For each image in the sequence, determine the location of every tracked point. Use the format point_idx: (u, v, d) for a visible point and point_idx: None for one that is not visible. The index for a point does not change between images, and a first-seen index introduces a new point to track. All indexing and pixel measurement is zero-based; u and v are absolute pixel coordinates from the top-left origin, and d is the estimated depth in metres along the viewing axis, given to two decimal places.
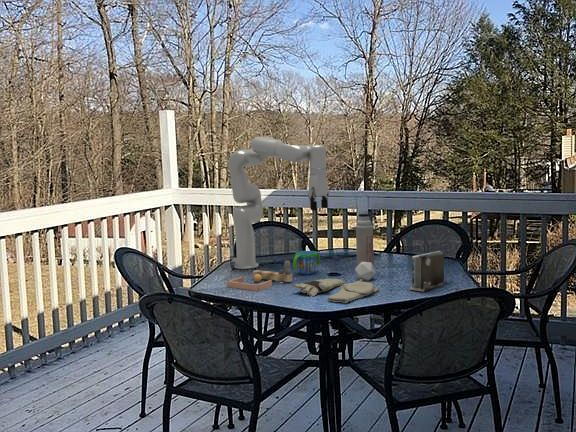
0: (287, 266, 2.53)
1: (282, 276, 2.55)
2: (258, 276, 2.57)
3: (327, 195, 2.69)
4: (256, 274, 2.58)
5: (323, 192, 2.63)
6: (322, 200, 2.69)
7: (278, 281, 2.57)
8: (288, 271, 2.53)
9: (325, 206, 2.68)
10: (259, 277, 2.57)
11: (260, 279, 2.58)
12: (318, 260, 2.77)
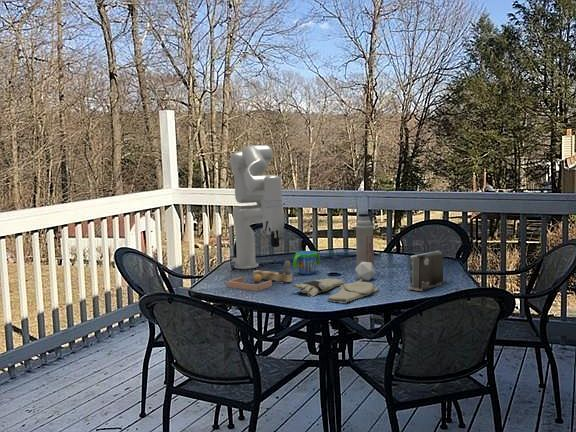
0: (287, 266, 2.53)
1: (282, 276, 2.55)
2: (258, 276, 2.57)
3: None
4: (256, 274, 2.58)
5: (279, 226, 2.45)
6: None
7: (278, 281, 2.57)
8: (288, 271, 2.53)
9: None
10: (259, 277, 2.57)
11: (260, 279, 2.58)
12: (318, 260, 2.77)
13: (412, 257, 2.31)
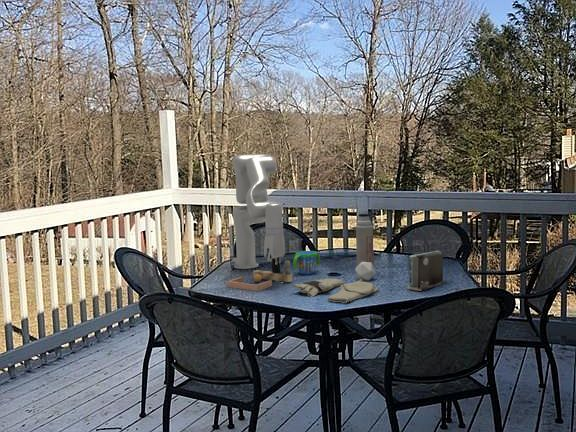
0: (287, 266, 2.53)
1: (282, 276, 2.55)
2: (258, 276, 2.57)
3: None
4: (256, 274, 2.58)
5: (280, 253, 2.46)
6: None
7: (278, 281, 2.57)
8: (288, 271, 2.53)
9: None
10: (259, 277, 2.57)
11: (260, 279, 2.58)
12: (318, 260, 2.77)
13: (411, 257, 2.32)
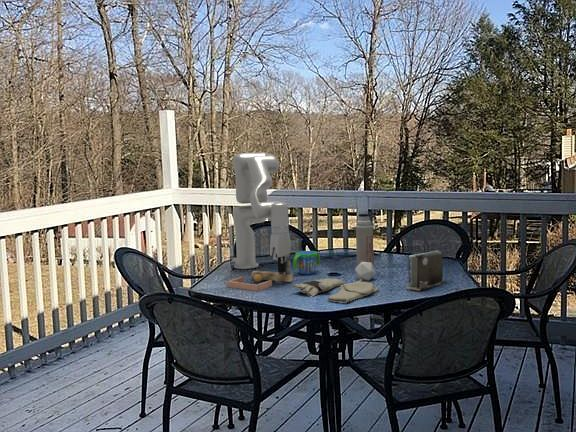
0: (288, 266, 2.53)
1: (282, 276, 2.55)
2: (258, 276, 2.57)
3: None
4: (256, 274, 2.58)
5: (285, 252, 2.50)
6: None
7: (278, 281, 2.57)
8: (289, 271, 2.54)
9: None
10: (259, 277, 2.57)
11: (260, 279, 2.58)
12: (318, 260, 2.77)
13: (410, 257, 2.32)
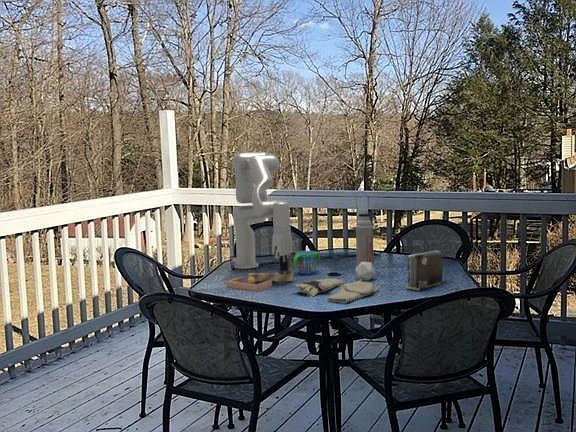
0: (290, 265, 2.55)
1: (284, 276, 2.55)
2: None
3: None
4: None
5: (287, 250, 2.51)
6: None
7: (278, 281, 2.57)
8: (290, 270, 2.55)
9: None
10: None
11: None
12: (318, 260, 2.77)
13: (410, 256, 2.32)
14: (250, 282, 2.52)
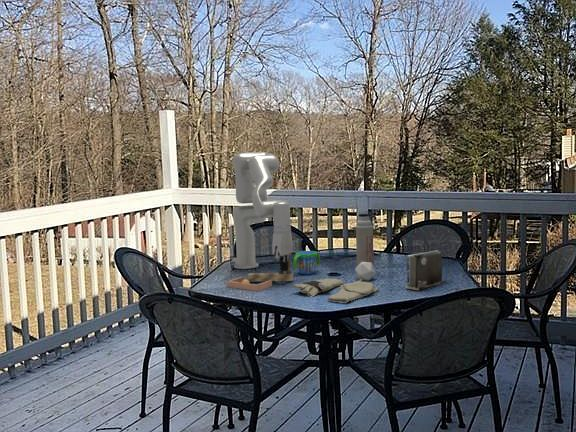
0: (290, 265, 2.55)
1: (284, 276, 2.55)
2: (246, 282, 2.47)
3: None
4: (244, 280, 2.48)
5: (288, 250, 2.51)
6: None
7: (278, 281, 2.57)
8: (291, 270, 2.55)
9: None
10: None
11: None
12: (318, 260, 2.77)
13: (409, 256, 2.33)
14: None
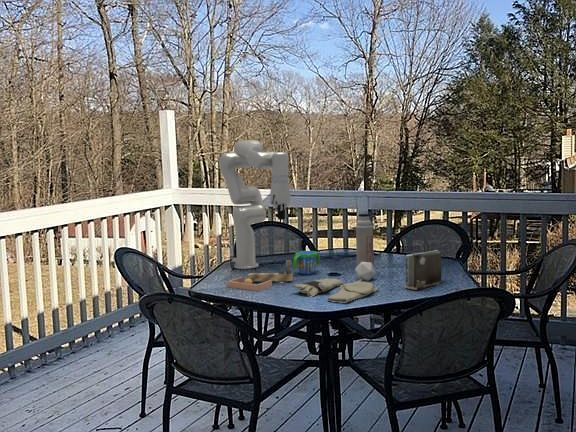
0: (290, 265, 2.55)
1: (284, 276, 2.55)
2: (250, 280, 2.50)
3: None
4: (249, 279, 2.51)
5: (285, 200, 2.61)
6: None
7: (278, 281, 2.57)
8: (291, 270, 2.55)
9: None
10: (251, 281, 2.49)
11: (250, 283, 2.49)
12: (318, 260, 2.77)
13: (408, 256, 2.33)
14: None
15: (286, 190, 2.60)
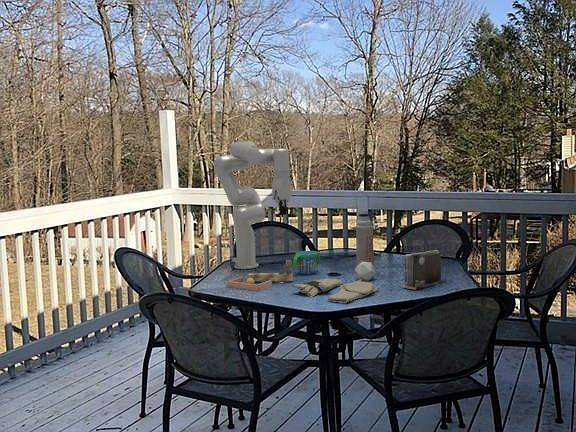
0: (290, 265, 2.55)
1: (284, 276, 2.55)
2: (253, 280, 2.52)
3: None
4: None
5: (287, 195, 2.65)
6: None
7: (278, 281, 2.57)
8: (291, 270, 2.55)
9: None
10: (253, 281, 2.51)
11: (252, 281, 2.50)
12: (318, 260, 2.77)
13: (407, 256, 2.34)
14: None
15: (287, 186, 2.65)
